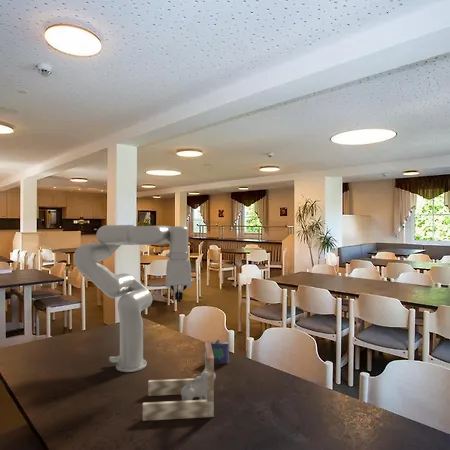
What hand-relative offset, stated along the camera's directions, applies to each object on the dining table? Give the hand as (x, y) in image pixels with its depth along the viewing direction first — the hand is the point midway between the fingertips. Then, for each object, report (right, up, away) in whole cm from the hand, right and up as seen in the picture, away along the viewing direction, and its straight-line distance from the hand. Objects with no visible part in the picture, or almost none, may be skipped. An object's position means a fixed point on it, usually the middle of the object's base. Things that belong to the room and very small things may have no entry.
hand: (178, 301), depth 141 cm
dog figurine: (+10, -30, -23) cm, 39 cm away
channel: (+4, -29, -24) cm, 38 cm away
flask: (+16, -29, +10) cm, 35 cm away
